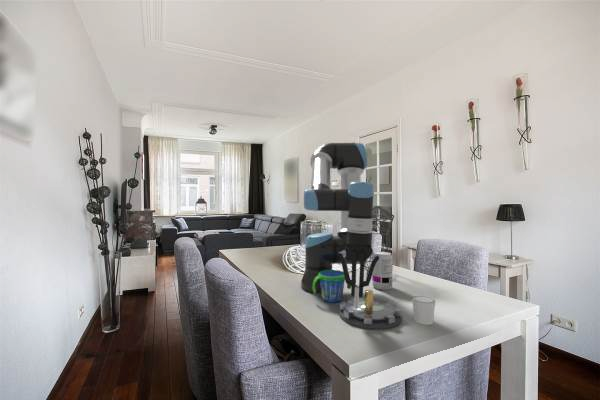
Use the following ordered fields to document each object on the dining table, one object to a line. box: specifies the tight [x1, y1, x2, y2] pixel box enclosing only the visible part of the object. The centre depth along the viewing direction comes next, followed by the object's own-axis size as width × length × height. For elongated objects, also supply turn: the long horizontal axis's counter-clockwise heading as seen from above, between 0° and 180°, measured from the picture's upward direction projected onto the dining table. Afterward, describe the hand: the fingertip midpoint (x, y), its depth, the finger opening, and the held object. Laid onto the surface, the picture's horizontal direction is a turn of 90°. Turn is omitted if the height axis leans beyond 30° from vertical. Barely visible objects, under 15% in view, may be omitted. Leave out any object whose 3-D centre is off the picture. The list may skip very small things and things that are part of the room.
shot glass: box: [412, 295, 436, 326], centre depth 96 cm, size 7×7×7 cm
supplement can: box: [372, 251, 394, 291], centre depth 130 cm, size 8×8×15 cm
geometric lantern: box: [364, 205, 395, 276], centre depth 151 cm, size 16×16×35 cm
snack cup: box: [312, 269, 352, 303], centre depth 114 cm, size 16×10×10 cm
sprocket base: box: [338, 309, 403, 331], centre depth 99 cm, size 20×20×1 cm
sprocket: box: [339, 289, 402, 325], centre depth 99 cm, size 20×20×9 cm
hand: (356, 306), depth 93 cm, fingers closed
